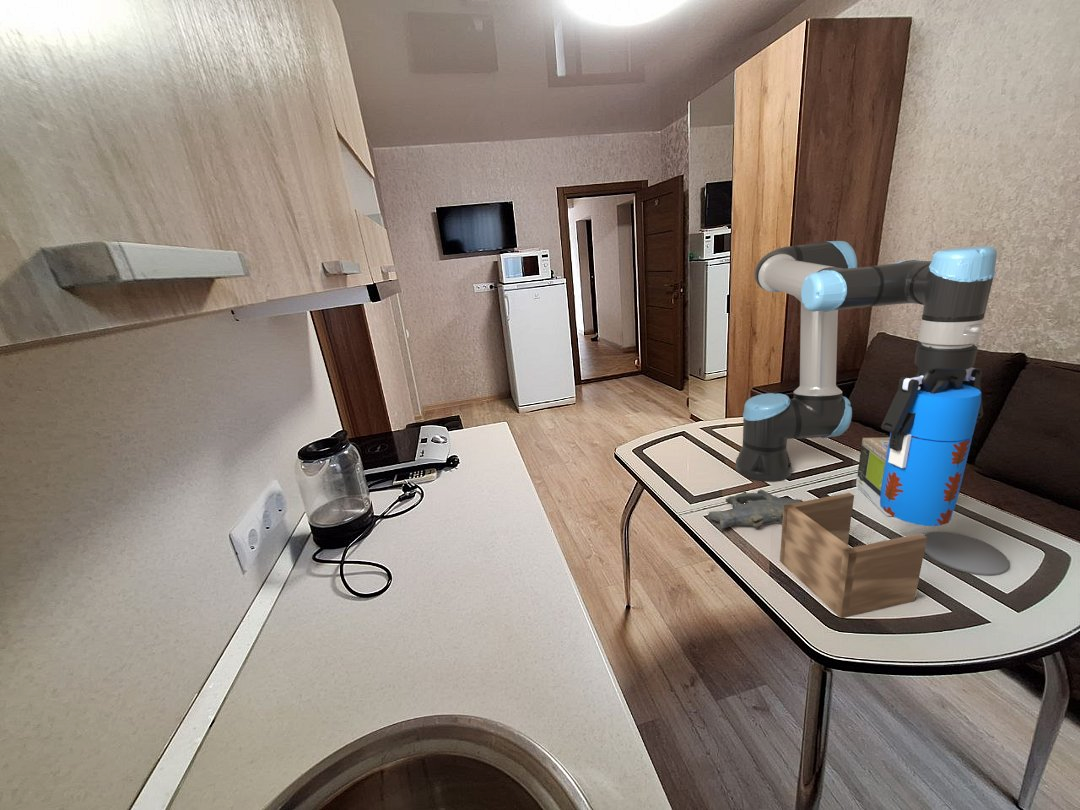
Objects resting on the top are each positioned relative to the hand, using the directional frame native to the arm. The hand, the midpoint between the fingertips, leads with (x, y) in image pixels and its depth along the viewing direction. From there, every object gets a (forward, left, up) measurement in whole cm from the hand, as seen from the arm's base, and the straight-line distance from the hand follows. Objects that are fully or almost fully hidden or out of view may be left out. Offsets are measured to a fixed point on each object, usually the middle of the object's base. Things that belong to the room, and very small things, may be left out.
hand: (924, 459), depth 78 cm
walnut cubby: (0, -15, -24) cm, 28 cm away
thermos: (0, 0, -11) cm, 11 cm away
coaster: (0, +13, -24) cm, 27 cm away
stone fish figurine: (-25, -16, -24) cm, 39 cm away
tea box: (-20, +18, -24) cm, 36 cm away
